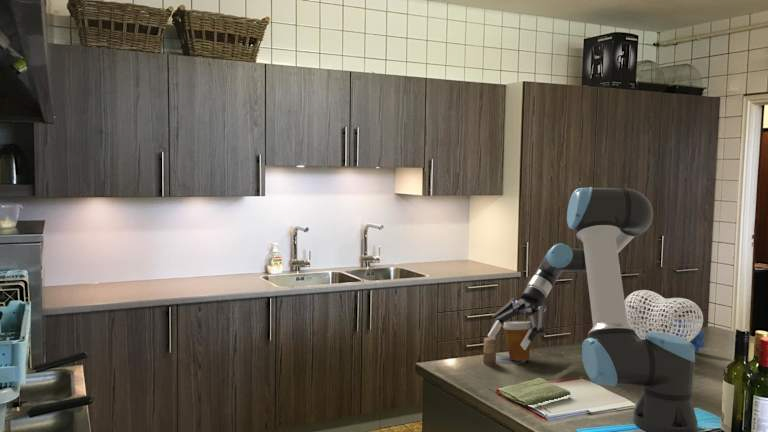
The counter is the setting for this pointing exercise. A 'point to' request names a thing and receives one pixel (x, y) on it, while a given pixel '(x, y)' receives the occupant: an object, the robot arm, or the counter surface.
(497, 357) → the board
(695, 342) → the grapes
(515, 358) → the disposable coffee cup
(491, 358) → the walnut peg
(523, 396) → the washcloth
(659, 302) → the heart
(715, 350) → the counter surface
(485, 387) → the counter surface
